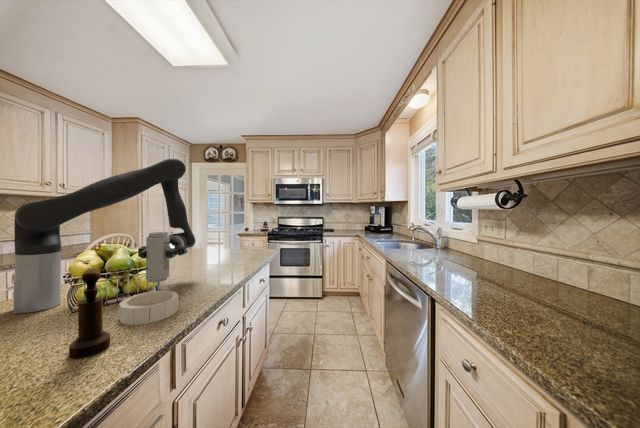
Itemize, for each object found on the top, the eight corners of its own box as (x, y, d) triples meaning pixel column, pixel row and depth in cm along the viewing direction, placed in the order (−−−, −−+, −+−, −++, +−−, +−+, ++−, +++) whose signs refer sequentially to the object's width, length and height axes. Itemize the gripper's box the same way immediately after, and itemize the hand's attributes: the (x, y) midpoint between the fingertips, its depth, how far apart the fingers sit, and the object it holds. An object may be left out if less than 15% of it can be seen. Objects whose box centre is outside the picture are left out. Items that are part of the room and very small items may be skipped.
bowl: (125, 330, 61) (126, 312, 60) (115, 314, 70) (115, 299, 70) (184, 313, 71) (184, 298, 71) (168, 301, 80) (169, 288, 80)
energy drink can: (150, 278, 76) (151, 232, 75) (171, 276, 77) (172, 231, 77) (142, 283, 70) (142, 233, 70) (165, 282, 72) (165, 233, 71)
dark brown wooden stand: (78, 345, 54) (79, 267, 53) (114, 339, 56) (115, 265, 56) (61, 362, 48) (63, 274, 47) (103, 354, 50) (104, 271, 50)
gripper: (148, 236, 85) (127, 243, 69) (192, 236, 89) (182, 242, 73) (147, 257, 85) (126, 268, 69) (192, 255, 89) (182, 265, 74)
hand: (155, 254), depth 71 cm, fingers closed on energy drink can, 6 cm apart
